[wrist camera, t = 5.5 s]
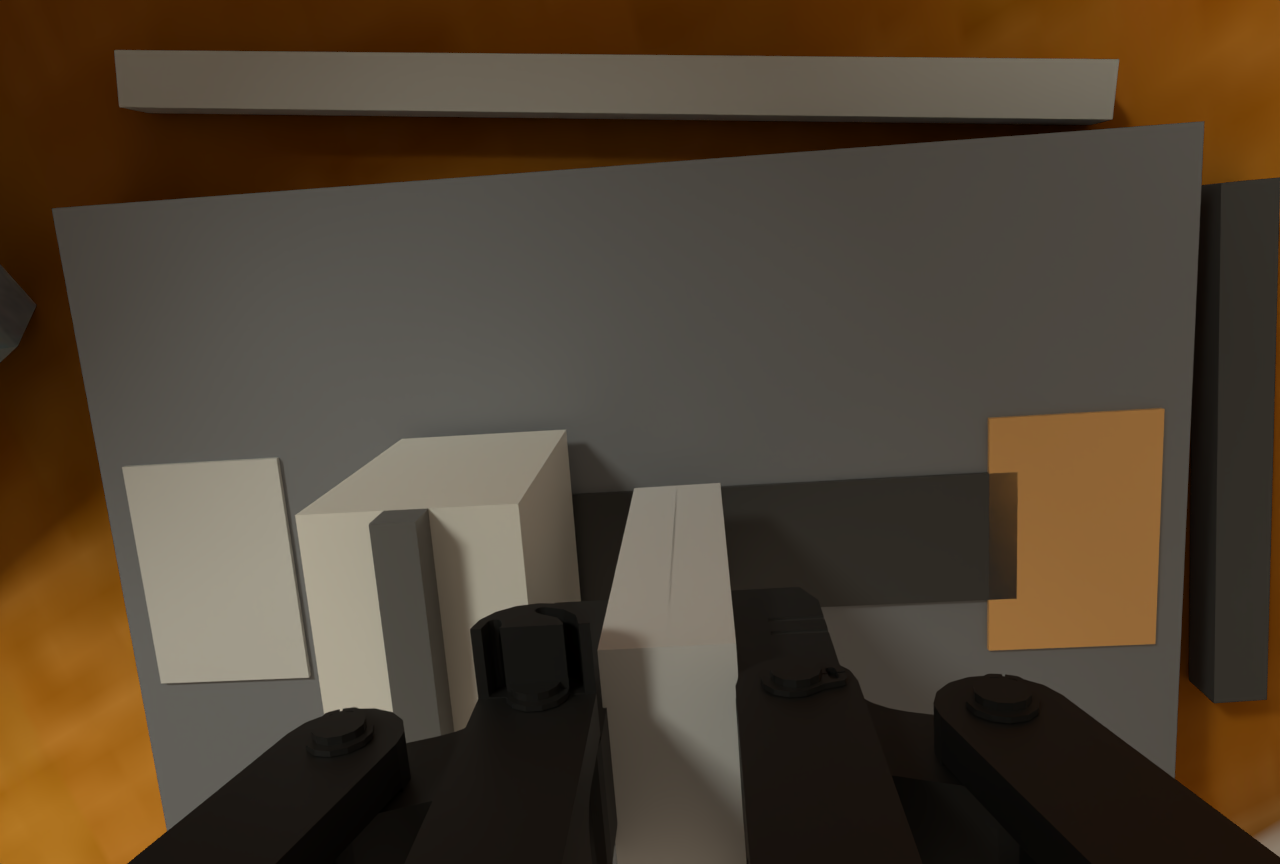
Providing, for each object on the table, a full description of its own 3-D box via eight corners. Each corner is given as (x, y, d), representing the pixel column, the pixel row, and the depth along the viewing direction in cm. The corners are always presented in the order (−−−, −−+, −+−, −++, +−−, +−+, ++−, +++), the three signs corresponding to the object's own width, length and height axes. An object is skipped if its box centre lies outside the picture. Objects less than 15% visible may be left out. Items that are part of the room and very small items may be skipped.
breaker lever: (432, 693, 19) (329, 877, 13) (401, 438, 18) (276, 528, 12) (588, 688, 18) (545, 872, 13) (566, 429, 17) (509, 517, 12)
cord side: (1189, 680, 20) (1214, 703, 19) (1193, 186, 18) (1221, 184, 17) (1239, 676, 20) (1266, 699, 19) (1248, 180, 18) (1280, 177, 17)
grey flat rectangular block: (224, 836, 22) (176, 899, 20) (116, 210, 20) (47, 208, 17) (1126, 811, 21) (1172, 874, 19) (1149, 132, 18) (1207, 120, 16)
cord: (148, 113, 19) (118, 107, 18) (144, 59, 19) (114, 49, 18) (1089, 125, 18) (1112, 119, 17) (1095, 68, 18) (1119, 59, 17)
